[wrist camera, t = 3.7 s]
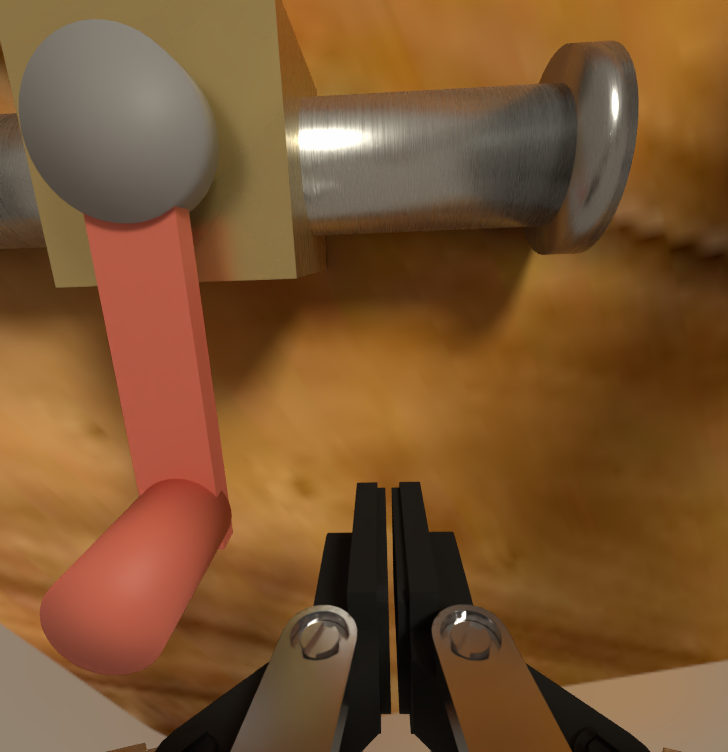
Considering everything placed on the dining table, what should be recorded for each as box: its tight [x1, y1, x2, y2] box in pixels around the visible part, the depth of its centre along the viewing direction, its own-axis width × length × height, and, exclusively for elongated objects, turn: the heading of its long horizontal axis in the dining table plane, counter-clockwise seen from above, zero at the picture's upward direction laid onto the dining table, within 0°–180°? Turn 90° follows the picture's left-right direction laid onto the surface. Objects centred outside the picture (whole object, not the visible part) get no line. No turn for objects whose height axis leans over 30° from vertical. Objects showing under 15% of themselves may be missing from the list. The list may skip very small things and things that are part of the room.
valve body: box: [0, 0, 638, 288], centre depth 15 cm, size 26×7×8 cm, turn 92°
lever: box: [19, 19, 233, 675], centre depth 10 cm, size 13×4×5 cm, turn 2°
